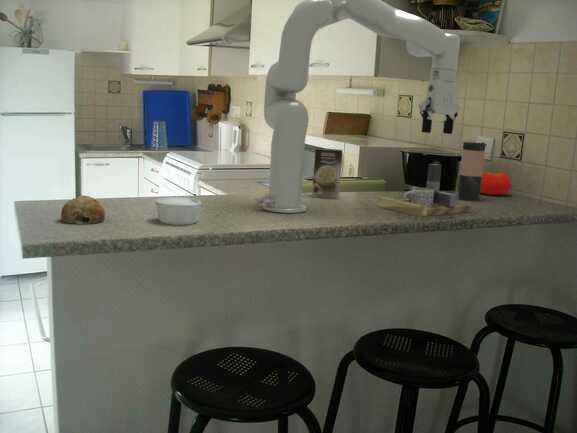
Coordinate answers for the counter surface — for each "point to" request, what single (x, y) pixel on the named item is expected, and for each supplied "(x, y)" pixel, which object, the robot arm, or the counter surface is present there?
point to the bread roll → (83, 211)
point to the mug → (421, 196)
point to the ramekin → (178, 210)
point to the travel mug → (471, 171)
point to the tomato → (495, 184)
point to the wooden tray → (420, 207)
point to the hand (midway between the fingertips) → (436, 133)
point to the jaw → (437, 187)
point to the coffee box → (327, 173)
